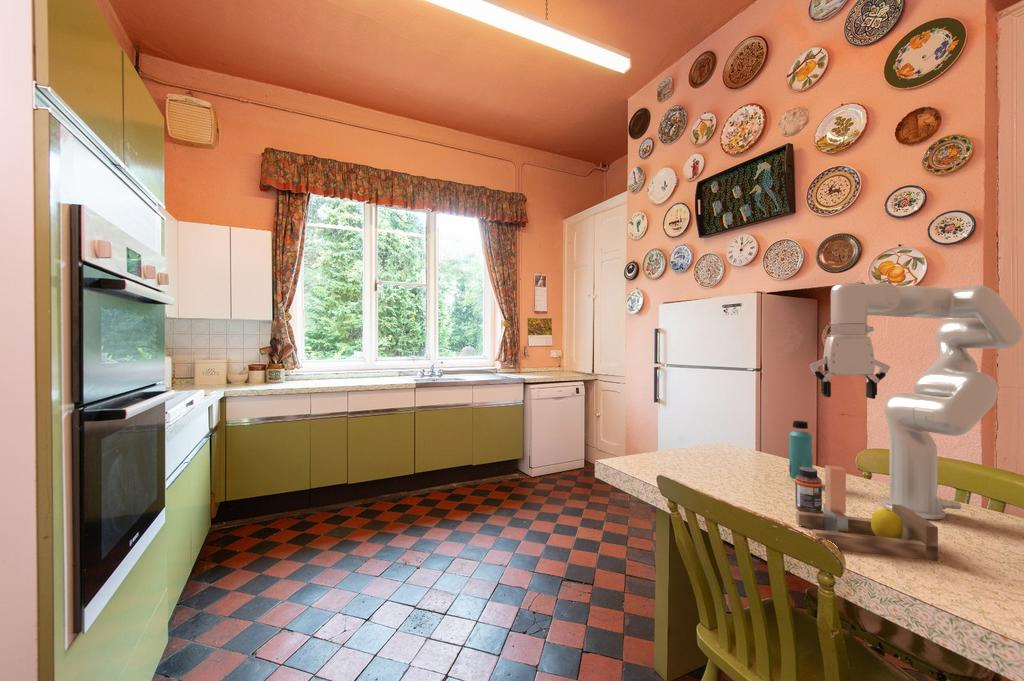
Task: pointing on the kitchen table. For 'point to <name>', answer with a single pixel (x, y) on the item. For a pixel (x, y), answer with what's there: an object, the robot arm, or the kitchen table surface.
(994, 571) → the kitchen table surface
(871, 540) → the frame
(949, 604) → the kitchen table surface
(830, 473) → the sliding jaw
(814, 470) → the supplement bottle
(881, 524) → the lemon
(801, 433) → the beverage bottle
